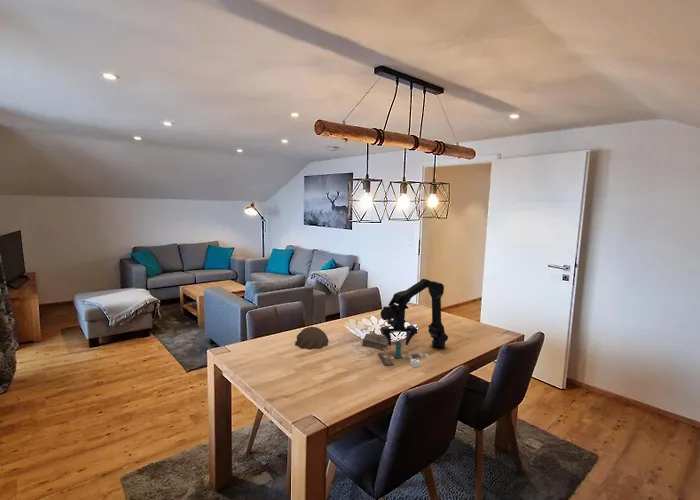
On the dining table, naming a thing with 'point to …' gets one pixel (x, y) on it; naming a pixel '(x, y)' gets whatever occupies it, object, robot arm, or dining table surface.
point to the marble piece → (375, 341)
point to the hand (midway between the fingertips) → (398, 345)
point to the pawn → (398, 350)
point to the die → (414, 362)
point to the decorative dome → (312, 338)
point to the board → (388, 362)
